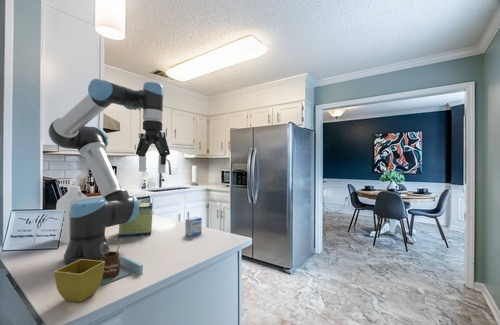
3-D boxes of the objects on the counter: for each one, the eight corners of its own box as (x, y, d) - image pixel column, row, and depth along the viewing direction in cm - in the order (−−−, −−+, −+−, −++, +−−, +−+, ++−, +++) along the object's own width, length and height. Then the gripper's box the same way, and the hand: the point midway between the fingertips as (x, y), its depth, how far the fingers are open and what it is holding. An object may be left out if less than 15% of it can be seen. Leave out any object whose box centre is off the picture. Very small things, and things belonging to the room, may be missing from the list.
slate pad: (89, 277, 79) (89, 276, 79) (117, 267, 87) (117, 266, 87) (102, 285, 74) (102, 284, 74) (130, 274, 82) (130, 273, 82)
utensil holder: (101, 272, 82) (102, 237, 82) (121, 269, 84) (122, 236, 84) (97, 280, 77) (98, 243, 77) (119, 277, 79) (120, 241, 79)
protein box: (151, 235, 125) (152, 205, 125) (118, 237, 120) (119, 207, 120) (151, 229, 135) (152, 202, 135) (121, 232, 129) (121, 203, 129)
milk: (93, 237, 120) (94, 186, 120) (68, 243, 110) (69, 188, 110) (79, 233, 125) (80, 184, 125) (53, 239, 115) (54, 186, 115)
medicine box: (190, 236, 124) (191, 220, 124) (185, 235, 126) (185, 219, 126) (201, 233, 130) (202, 217, 130) (196, 231, 133) (196, 216, 133)
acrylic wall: (119, 264, 90) (119, 256, 90) (121, 263, 91) (122, 255, 91) (139, 274, 82) (140, 265, 82) (142, 273, 83) (142, 264, 83)
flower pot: (52, 304, 64) (52, 271, 64) (80, 287, 73) (81, 258, 73) (79, 308, 63) (80, 274, 63) (105, 290, 71) (106, 261, 71)
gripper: (179, 120, 94) (178, 173, 94) (144, 124, 108) (143, 170, 108) (163, 116, 88) (162, 173, 88) (127, 122, 102) (126, 171, 102)
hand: (151, 172), depth 98 cm, fingers open, 13 cm apart
